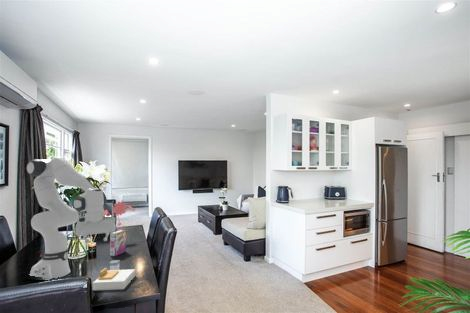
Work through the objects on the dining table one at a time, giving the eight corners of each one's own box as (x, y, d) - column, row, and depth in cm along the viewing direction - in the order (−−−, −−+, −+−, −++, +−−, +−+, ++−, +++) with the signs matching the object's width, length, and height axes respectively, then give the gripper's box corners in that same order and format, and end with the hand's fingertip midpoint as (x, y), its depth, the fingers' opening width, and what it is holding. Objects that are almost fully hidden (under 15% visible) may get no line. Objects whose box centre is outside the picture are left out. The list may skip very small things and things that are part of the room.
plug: (109, 274, 154) (109, 263, 155) (112, 271, 159) (112, 260, 159) (116, 273, 154) (116, 262, 155) (120, 270, 159) (120, 260, 159)
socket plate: (92, 290, 134) (92, 282, 134) (107, 277, 150) (107, 270, 150) (123, 289, 134) (123, 281, 134) (135, 276, 150) (135, 269, 150)
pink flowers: (101, 243, 220) (101, 202, 221) (130, 237, 239) (130, 199, 240) (108, 247, 210) (108, 204, 211) (138, 240, 229) (138, 200, 230)
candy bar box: (115, 256, 185) (115, 233, 186) (109, 256, 187) (109, 233, 187) (126, 251, 196) (125, 229, 197) (120, 251, 197) (120, 229, 198)
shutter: (98, 279, 137) (98, 273, 137) (106, 272, 146) (106, 266, 146) (111, 278, 137) (111, 272, 138) (118, 272, 146) (118, 266, 147)
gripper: (116, 214, 150) (117, 238, 149) (78, 217, 147) (79, 242, 146) (113, 215, 144) (114, 241, 143) (73, 219, 140) (74, 245, 139)
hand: (96, 241), depth 144 cm, fingers open, 8 cm apart
